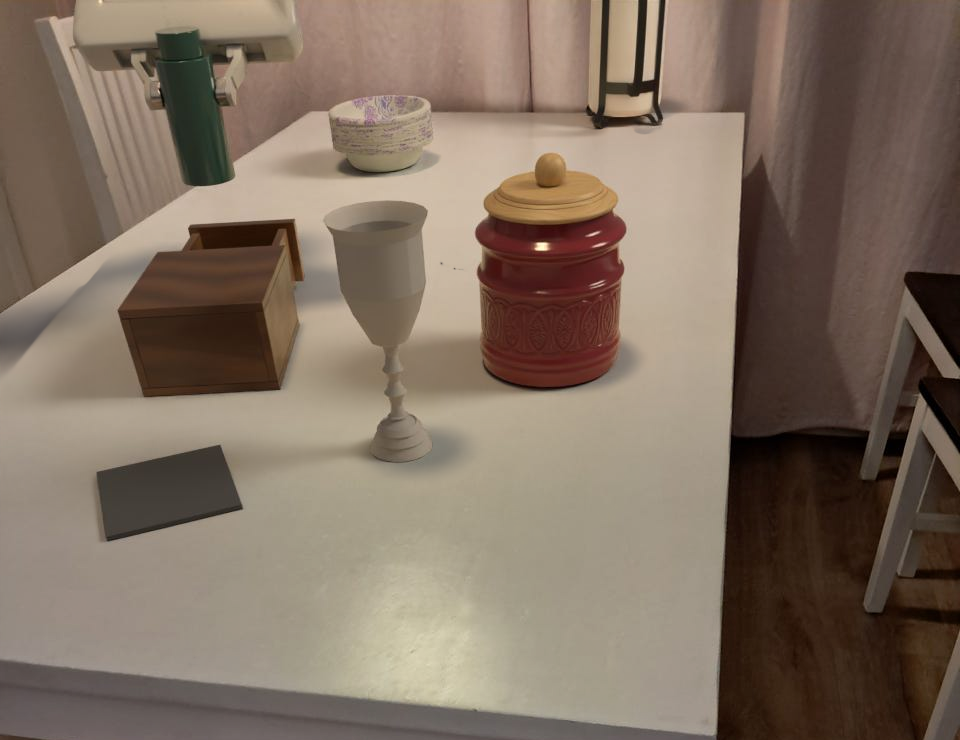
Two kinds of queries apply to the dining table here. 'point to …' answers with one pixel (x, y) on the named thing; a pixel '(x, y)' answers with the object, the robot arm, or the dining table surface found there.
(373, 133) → the paper bowls
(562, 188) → the kitchen canister
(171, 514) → the mat
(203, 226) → the drawer
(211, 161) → the bottle
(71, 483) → the dining table surface
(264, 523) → the dining table surface
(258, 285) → the brown wooden box
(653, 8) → the lantern
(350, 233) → the chalice
